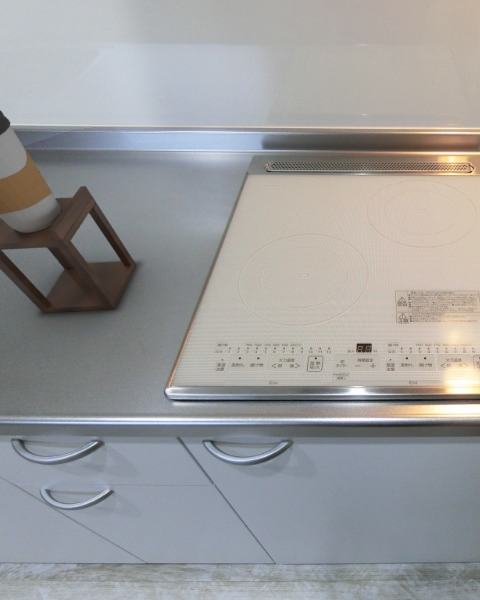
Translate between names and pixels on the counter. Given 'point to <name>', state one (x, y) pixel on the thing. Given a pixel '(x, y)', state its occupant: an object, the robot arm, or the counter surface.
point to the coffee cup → (23, 186)
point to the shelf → (71, 260)
